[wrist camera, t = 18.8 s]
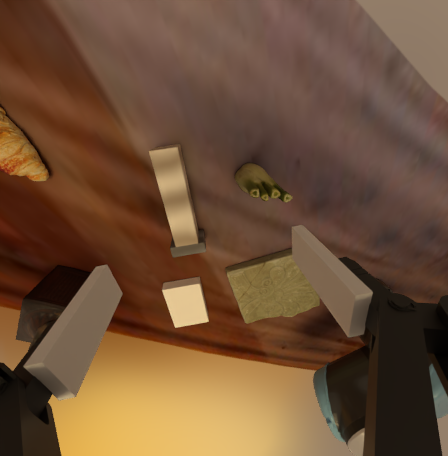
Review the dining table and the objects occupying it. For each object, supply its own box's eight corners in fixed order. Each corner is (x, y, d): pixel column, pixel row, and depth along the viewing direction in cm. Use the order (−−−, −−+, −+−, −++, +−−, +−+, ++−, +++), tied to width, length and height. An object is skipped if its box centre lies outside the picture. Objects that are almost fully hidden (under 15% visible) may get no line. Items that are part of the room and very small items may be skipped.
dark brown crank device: (102, 312, 47) (54, 408, 31) (48, 300, 44) (-37, 400, 28) (122, 261, 42) (76, 346, 26) (61, 242, 39) (-35, 326, 23)
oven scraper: (205, 238, 42) (206, 251, 37) (175, 243, 41) (172, 257, 37) (186, 143, 33) (184, 146, 29) (149, 148, 33) (141, 152, 29)
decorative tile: (224, 265, 46) (226, 276, 43) (311, 240, 46) (319, 249, 42) (242, 319, 55) (245, 331, 52) (315, 298, 54) (323, 309, 51)
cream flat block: (199, 275, 46) (208, 312, 52) (163, 281, 46) (176, 318, 51) (199, 283, 44) (208, 321, 49) (162, 290, 44) (175, 327, 49)
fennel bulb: (269, 174, 37) (298, 195, 27) (252, 196, 39) (273, 223, 28) (245, 154, 35) (266, 168, 25) (228, 178, 37) (241, 200, 26)
